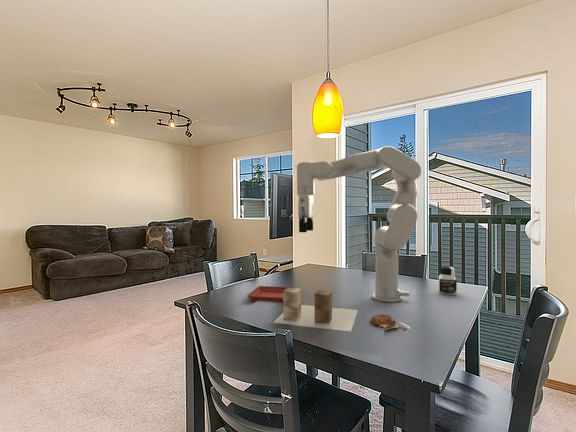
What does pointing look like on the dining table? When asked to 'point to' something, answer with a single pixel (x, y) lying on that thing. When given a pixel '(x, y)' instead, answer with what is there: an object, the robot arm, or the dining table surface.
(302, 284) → the dining table surface
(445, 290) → the medicine bottle
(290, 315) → the maple block
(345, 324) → the slab
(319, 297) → the walnut block
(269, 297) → the red tray
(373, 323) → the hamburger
